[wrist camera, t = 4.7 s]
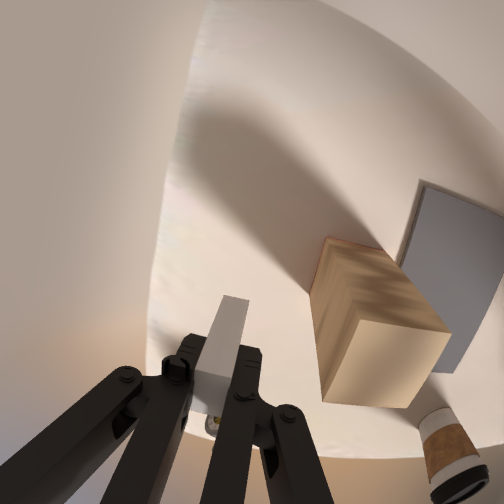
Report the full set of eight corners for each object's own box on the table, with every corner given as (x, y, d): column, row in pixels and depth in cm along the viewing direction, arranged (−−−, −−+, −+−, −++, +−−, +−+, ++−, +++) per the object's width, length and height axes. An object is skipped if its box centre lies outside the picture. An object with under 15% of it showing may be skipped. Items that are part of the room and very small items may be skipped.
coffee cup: (419, 407, 34) (449, 493, 19) (467, 396, 33) (503, 471, 19) (404, 441, 36) (424, 518, 22) (449, 431, 35) (475, 500, 21)
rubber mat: (516, 224, 24) (519, 225, 24) (451, 370, 31) (452, 373, 31) (423, 185, 25) (426, 186, 24) (359, 361, 31) (360, 365, 31)
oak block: (385, 251, 27) (452, 333, 14) (365, 306, 29) (406, 408, 16) (326, 236, 27) (360, 319, 14) (309, 295, 29) (322, 401, 16)
